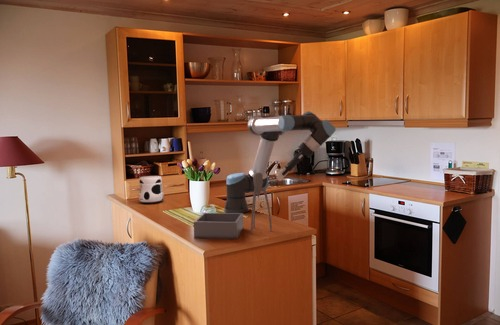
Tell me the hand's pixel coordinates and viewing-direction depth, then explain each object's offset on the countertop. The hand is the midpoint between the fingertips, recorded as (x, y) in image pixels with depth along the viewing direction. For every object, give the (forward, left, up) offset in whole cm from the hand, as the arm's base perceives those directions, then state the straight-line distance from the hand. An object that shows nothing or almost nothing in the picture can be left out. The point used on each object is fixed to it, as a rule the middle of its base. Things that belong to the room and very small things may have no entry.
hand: (278, 177), depth 209 cm
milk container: (-74, -95, -28) cm, 124 cm away
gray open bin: (+4, -30, -28) cm, 41 cm away
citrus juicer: (0, -11, -28) cm, 30 cm away
